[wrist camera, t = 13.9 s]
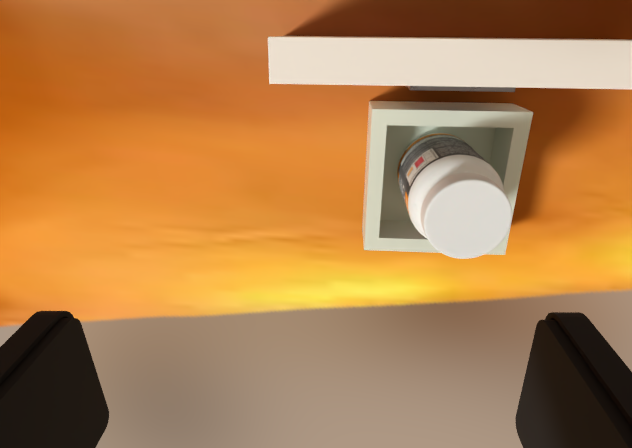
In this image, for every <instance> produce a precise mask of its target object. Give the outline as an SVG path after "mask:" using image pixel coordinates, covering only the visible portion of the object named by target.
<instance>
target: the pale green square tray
mask: <svg viewBox="0 0 632 448" xmlns="http://www.w3.org/2000/svg"><path fill="white" fill-rule="evenodd" d="M532 116H533V112H532V111H530V110H527V109H525V108H523V107H520V106H518V105H516V104H513V103H465V102H408V101H369V115H368V133H367V151H366V170H365V188H364V206H363V224H362V232H363V244H364V250H378V251H407V252H436V253H441V252H439V251H438V250H437V249H435V248H434V247H433V246H432V245H431V243H430V242H429V241H428V239H427V238H425V237H424V236H423V235H421V234H420V233H419V232H418V230H417V229H416V228H415V226H414V225H413V223H412V221H411V219H410V216H409V213H408V210H407V207H406V204H405V201H404V199H403V196H402V193H401V190H400V187H399V184H398V179H397V167H398V163H399V160H400V157H401V155H402V154H403V152H404V151H405V149H406V148H407V147H408V146H409V145H410V144H411V143H412V142H413V141H415V140H416V139H418V138H419V137H422V136H424V135H427V134H431V133H448V134H452V135H454V136H457V137H458V138H460V139H462V140H463V141H464V142H466V143H467V144H468V145H469V146H471V147H472V148H473V149H474V150H475V151H476V152H477V153H478V154H479V155H480V156H481V157H482V158H483V159H484V160H485V161H487V162H488V163H489V164H490V165H491V166H492V167H493V168H494V170H495V171H496V172H497V174H498V175H499V177H500V179H501V181H502V184H503V188H504V193H505V194H506V196H507V197H508V199H509V201H510V204H511V208H512V217H513V212H514V207H515V202H516V197H517V192H518V187H519V182H520V176H521V171H522V166H523V161H524V156H525V151H526V146H527V141H528V136H529V131H530V126H531V121H532ZM510 227H511V226H510ZM509 232H510V229H509V231H508V233H507V235H506V237H505V238H504V239H503V241H502V242H501V243H500V244H499V245H498V246H497V247H496V248H494V249H493V250H491V251H490V252H488V253H486V254H495V255H505V252H506V247H507V242H508V237H509Z"/></svg>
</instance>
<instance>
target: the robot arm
mask: <svg viewBox="0 0 632 448" xmlns="http://www.w3.org/2000/svg"><path fill="white" fill-rule="evenodd" d="M108 419H109V411H108V407H107V404H106V401H105V398H104V394H103V391H102V388H101V385H100V382H99V379H98V376H97V372H96V369H95V366H94V363H93V360H92V357H91V353H90V350H89V347H88V344H87V341H86V338H85V335H84V332H83V329H82V325H81V323H80V321H79V320H78V319H76V318H74V317H73V315H72V314H71V313H70V312H67V311H39V312H36V313H35V314H34V315H32V316H31V317H30V318H29V319H28V320H27V321H26V322H25V323H24V324H23V325H22V326H21V327H20V328H19V329H18V330H17V331H16V332H15V333H14V334H13V335H12V336H11V337H10V338H9V339H8V340H7V341H6V342H5V343H4V344H3V345H2V346H1V347H0V448H95V447H96V445H97V444H98V441H99V440H100V438H101V436H102V434H103V433H104V431H105V429H106V427H107V424H108ZM516 429H517V433H518V436H519V438H520V441H521V443H522V445H523V448H632V372H631V371H630V369H629V368H628V367H627V366H626V365H625V363H624V362H623V361H622V359H621V358H620V357H619V356H618V355H617V353H616V352H615V351H614V350H613V349H612V347H611V346H610V345H609V344H608V342H607V341H606V340H605V339H604V337H603V336H602V335H601V334H600V332H599V331H598V330H597V329H596V328H595V326H594V325H593V324H592V323H591V322H590V320H589V319H588V318H587V317H586V316H585V315H584V314H582V313H549V314H548V315H547V316H546V319H545V320H540V321H539V322H538V323H537V326H536V330H535V335H534V339H533V343H532V348H531V352H530V357H529V361H528V365H527V370H526V374H525V379H524V383H523V387H522V392H521V396H520V401H519V405H518V410H517V414H516Z"/></svg>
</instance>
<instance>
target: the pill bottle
mask: <svg viewBox="0 0 632 448" xmlns="http://www.w3.org/2000/svg"><path fill="white" fill-rule="evenodd" d="M397 179H398V184H399V187H400V190H401V193H402V196H403V199H404V201H405V204H406V207H407V210H408V213H409V216H410V219H411V221H412V223H413V225H414V226H415V228H416V229H417V230H418V232H419V233H420V234H421V235H423V236H424V237H425V238H427V239H428V241H429V242H430V243H431V245H432V246H433V247H434V248H435V249H437V250H438V251H439V252H441V253H443V254H445V255H447V256H450V257H454V258H460V259H467V258H474V257H478V256H481V255H484V254H486V253H488V252H490V251H491V250H493V249H494V248H496V247H497V246H498V245H499V244H500V243H501V242H502V241H503V239H504V238H505V237H506V235H507V233H508V231H509V229H510V226H511V222H512V208H511V204H510V201H509V199H508V197H507V196H506V194H505V193H504V188H503V184H502V181H501V179H500V177H499V175H498V174H497V172H496V171H495V170H494V168H493V167H492V166H491V165H490V164H489V163H488V162H487V161H485V160H484V159H483V158H482V157H481V156H480V155H479V154H478V153H477V152H476V151H475V150H474V149H473V148H472V147H471V146H469V145H468V144H467V143H466V142H464V141H463V140H462V139H460V138H458V137H457V136H454V135H452V134H448V133H431V134H427V135H424V136H422V137H419V138H418V139H416V140H415V141H413V142H412V143H411V144H410V145H409V146H408V147H407V148H406V149H405V151H404V152H403V154H402V155H401V157H400V160H399V163H398V167H397Z"/></svg>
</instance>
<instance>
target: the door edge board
mask: <svg viewBox="0 0 632 448" xmlns="http://www.w3.org/2000/svg"><path fill="white" fill-rule="evenodd" d="M268 55H269V84H326V85H389V86H406V87H407V88H408V89H409V90H430V91H492V92H515V88H516V87H517V88H580V89H632V40H627V39H543V38H445V37H347V36H275V37H268Z"/></svg>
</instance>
